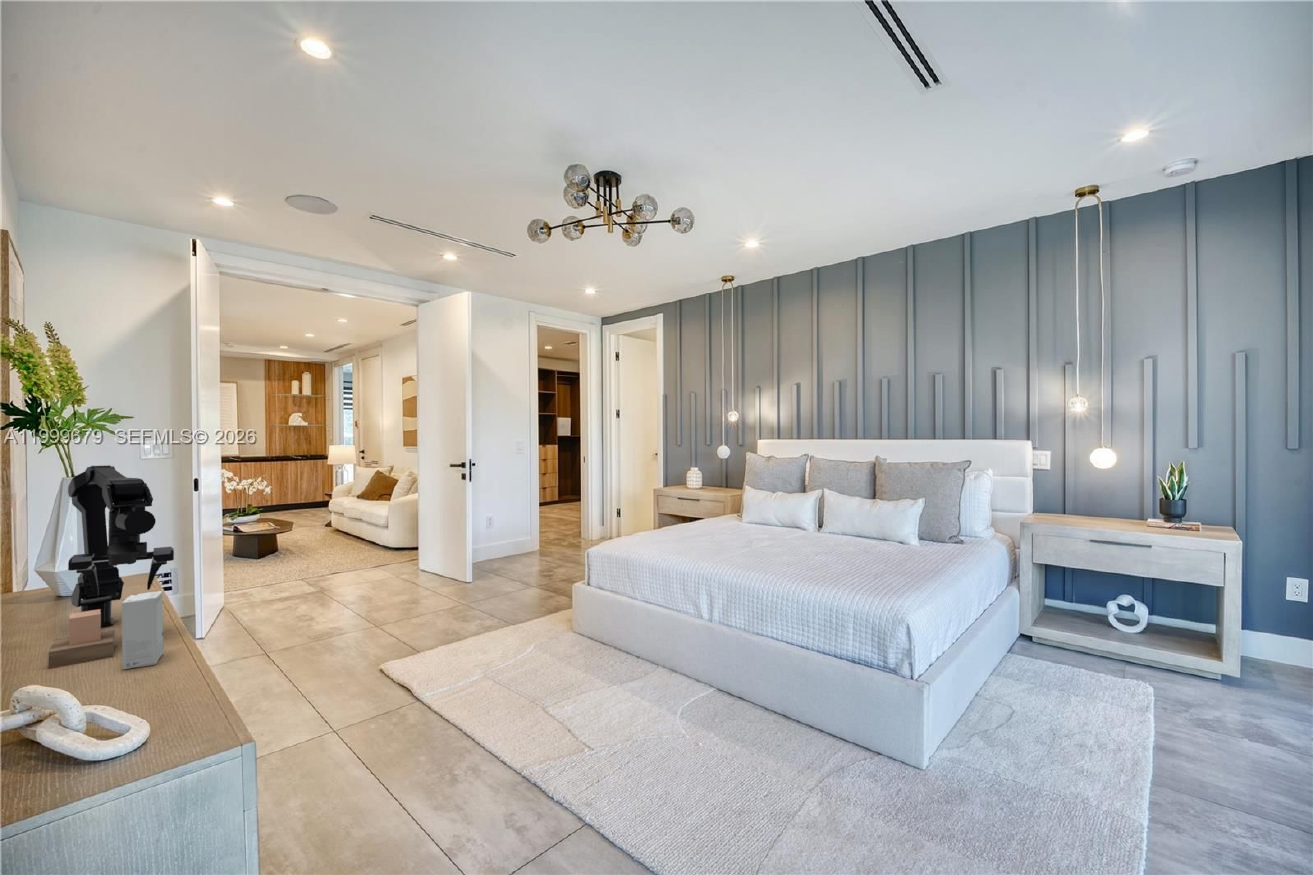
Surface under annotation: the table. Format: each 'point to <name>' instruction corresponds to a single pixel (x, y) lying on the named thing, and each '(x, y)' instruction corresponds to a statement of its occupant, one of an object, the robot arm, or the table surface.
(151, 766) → the table surface
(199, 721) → the table surface
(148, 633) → the skincare box
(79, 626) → the terracotta block
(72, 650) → the block
